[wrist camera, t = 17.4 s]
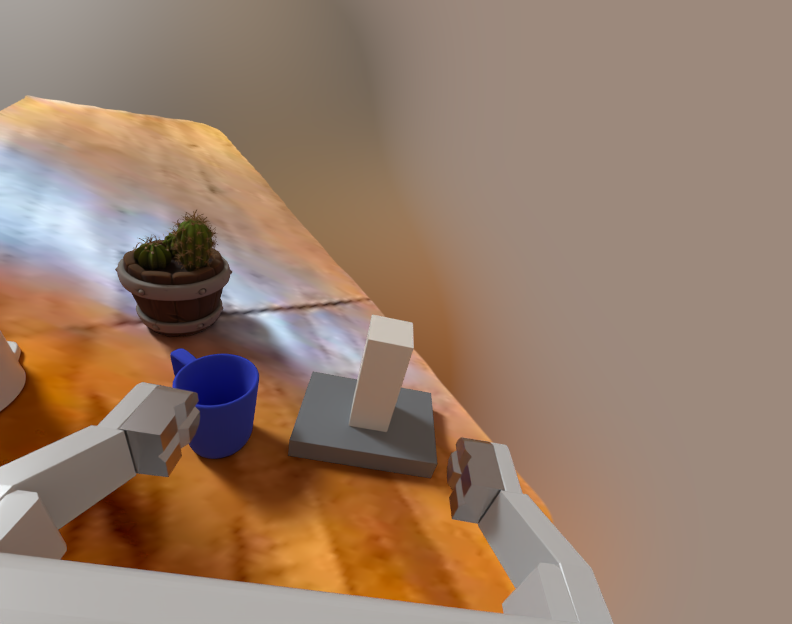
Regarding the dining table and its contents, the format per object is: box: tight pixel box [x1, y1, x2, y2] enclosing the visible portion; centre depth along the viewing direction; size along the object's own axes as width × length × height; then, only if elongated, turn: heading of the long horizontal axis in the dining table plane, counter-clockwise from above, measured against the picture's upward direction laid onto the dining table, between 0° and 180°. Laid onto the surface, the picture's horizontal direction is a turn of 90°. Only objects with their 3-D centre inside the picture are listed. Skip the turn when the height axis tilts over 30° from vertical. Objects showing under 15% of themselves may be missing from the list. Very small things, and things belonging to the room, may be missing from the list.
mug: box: [170, 348, 259, 459], centre depth 40 cm, size 8×12×10 cm
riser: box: [288, 372, 437, 478], centre depth 47 cm, size 18×12×3 cm, turn 89°
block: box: [349, 315, 414, 432], centre depth 43 cm, size 5×5×14 cm
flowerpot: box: [115, 210, 232, 336], centre depth 53 cm, size 14×15×20 cm
